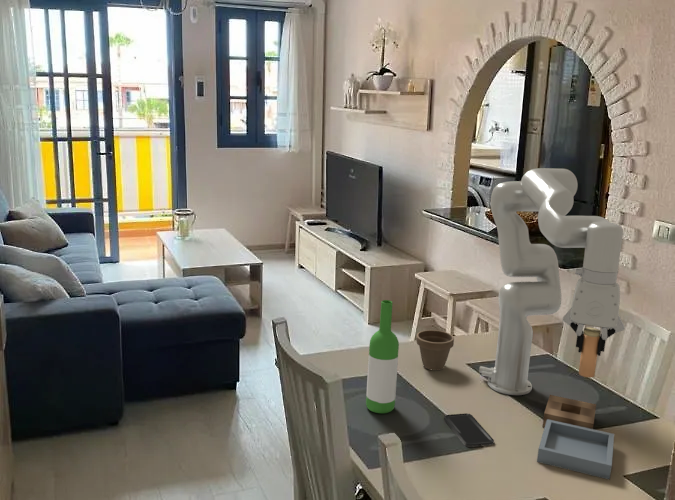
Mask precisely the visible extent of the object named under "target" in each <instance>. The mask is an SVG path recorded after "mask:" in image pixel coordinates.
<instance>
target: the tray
mask: <svg viewBox="0 0 675 500" xmlns="http://www.w3.org/2000/svg"><path fill="white" fill-rule="evenodd" d="M543 428H544V427H543ZM614 440H615V433H611V432H607V431H603V430H598V429H594V428H593V429H590V428H585V427H580V426H576V425H571V424H567V423H562V422H558V421H553V420H549V419H547V421H546V424H545V428H544V429H543V432H542V436H541V439H540V442H539V445H538V450H537V458H536V462H537V463H541V464H544V465H549V466H551V467H556V468H561V469H566V470H568V469H569V471H574V472H578V473H582V474H585V475H590V476H593V477H597V478H602V479H605V480H610V478H611V474H612V473H611V471H612V466H613V455H614V443H615V441H614Z"/></svg>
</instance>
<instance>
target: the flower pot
mask: <svg viewBox="0 0 675 500" xmlns="http://www.w3.org/2000/svg"><path fill="white" fill-rule="evenodd" d="M415 337H416V339H415V340H416V344H417V346H418V347H419V352H420V359H421V363H422V366H423V365H424V366H425V367H426V368H425V367H424V366H423V367H424V368H425V369H427V368H428V369H427V370H429V369H432V370H431V371H440V370H443V369H444V368H445V366H446V364H447V360H448V357H449V354H450V351H451V349H452V348H453V347H454V342H455V337H454V336H453V335H452V334H451V333H449V332H446V331H443V330H437V329H436V330H435V329H428V330H427V329H425V330H421V331H419V332H417V333H416V336H415Z"/></svg>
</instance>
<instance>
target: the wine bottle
mask: <svg viewBox="0 0 675 500" xmlns="http://www.w3.org/2000/svg"><path fill="white" fill-rule="evenodd" d="M380 303H381V304H380V314H379V315H380V316H379V329H378V330H377V331H375V332H374V333H373V334H372V335H371V338H370V340H369V345H368V346H369V350H368V360H367V361H368V363H367V379H366V393H365V394H366V396H365V406H366V407H367V409H368V410H369V411H371V412H373V413H376V414H388V413H391V412H392V411H393V410H394V408H395V405H396V394H397V392H396V391H397V378H398V377H397V376H398V365H399V349H400V347H399V346H400V343H399V339H398V337H397V335H396V334H395V333H394V331H392V318H393V316H392V315H393V301H391V300H388V299H383V300H382V301H381V302H380Z"/></svg>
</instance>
